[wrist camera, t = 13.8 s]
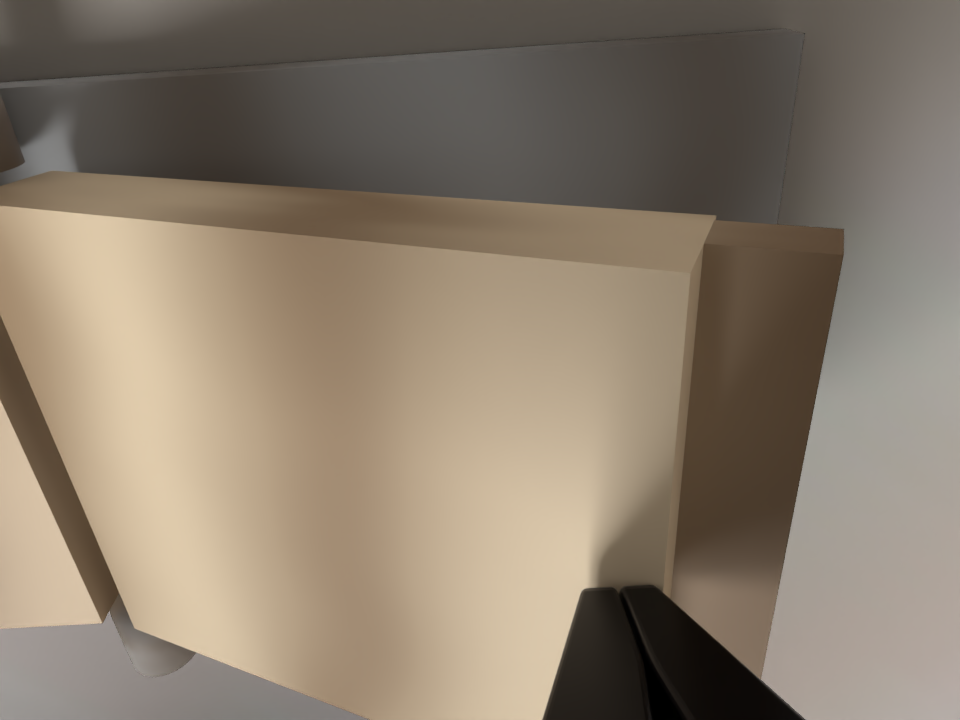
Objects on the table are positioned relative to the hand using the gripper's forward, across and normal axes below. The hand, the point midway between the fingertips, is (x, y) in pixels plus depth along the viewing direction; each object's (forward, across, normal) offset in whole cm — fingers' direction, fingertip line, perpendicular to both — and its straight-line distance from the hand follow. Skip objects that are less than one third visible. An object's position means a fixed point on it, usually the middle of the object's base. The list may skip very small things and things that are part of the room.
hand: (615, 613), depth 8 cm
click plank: (+3, -3, 0) cm, 4 cm away
